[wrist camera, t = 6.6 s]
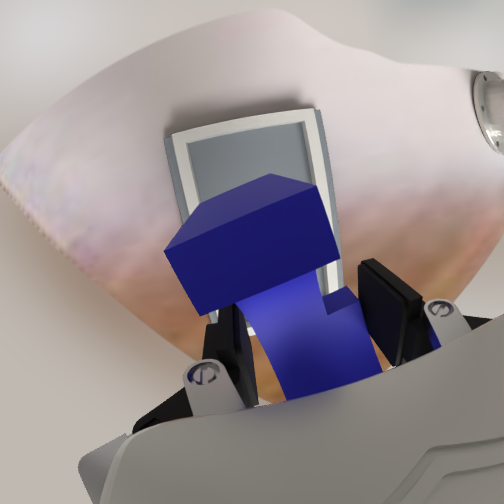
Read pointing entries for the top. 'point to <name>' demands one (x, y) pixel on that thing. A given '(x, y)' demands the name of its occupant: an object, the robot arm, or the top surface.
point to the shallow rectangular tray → (255, 166)
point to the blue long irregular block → (276, 281)
